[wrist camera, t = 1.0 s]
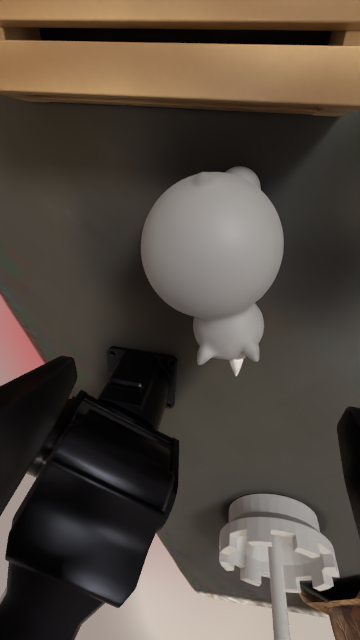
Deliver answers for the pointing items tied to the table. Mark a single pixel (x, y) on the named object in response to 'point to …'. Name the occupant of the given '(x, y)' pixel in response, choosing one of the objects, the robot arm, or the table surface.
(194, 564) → the table surface
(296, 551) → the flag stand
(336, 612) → the bird sculpture
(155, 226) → the round bodied animal figurine
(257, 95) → the wooden pallet
